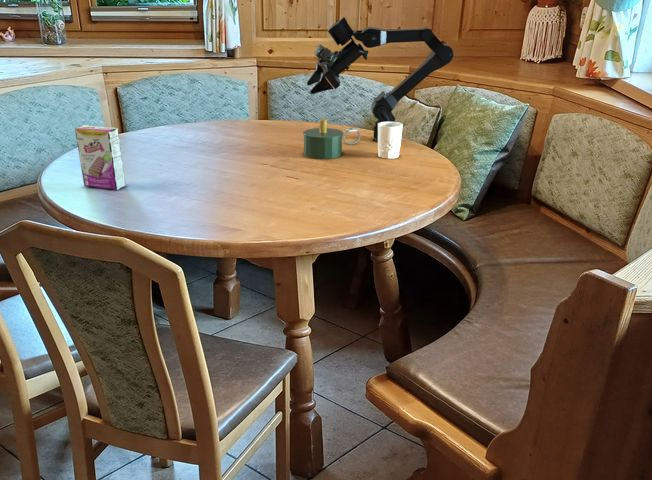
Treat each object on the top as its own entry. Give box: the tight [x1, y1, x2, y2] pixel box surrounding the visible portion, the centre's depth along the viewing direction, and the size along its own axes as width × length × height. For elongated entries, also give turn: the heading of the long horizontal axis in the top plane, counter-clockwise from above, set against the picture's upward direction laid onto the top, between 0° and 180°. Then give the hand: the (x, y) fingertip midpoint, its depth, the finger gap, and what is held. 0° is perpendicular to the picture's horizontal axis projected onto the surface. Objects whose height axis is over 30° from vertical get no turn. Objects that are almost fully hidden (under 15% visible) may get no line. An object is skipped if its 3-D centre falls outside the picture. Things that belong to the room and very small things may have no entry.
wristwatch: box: [342, 127, 361, 145], centre depth 249 cm, size 6×3×5 cm, turn 108°
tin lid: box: [302, 118, 344, 139], centre depth 234 cm, size 13×13×5 cm
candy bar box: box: [74, 124, 126, 191], centre depth 204 cm, size 11×5×16 cm, turn 71°
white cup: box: [377, 121, 404, 159], centre depth 233 cm, size 8×8×10 cm
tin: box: [303, 135, 343, 160], centre depth 236 cm, size 12×12×6 cm
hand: (308, 88), depth 245 cm, fingers open, 9 cm apart
